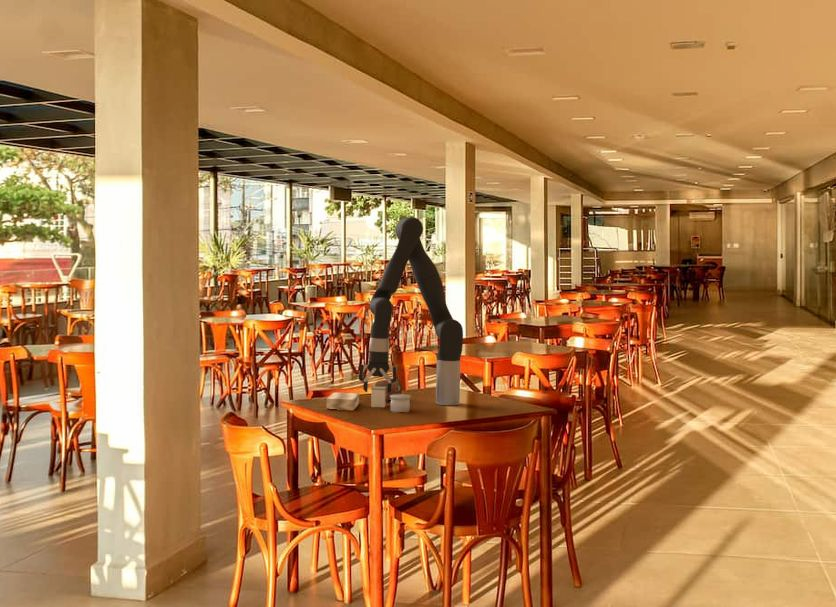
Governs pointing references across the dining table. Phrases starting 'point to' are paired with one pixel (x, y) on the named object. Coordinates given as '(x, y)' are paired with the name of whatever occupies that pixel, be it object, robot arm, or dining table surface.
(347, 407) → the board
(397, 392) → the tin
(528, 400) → the dining table surface
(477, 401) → the dining table surface
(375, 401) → the green and cream block
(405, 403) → the sugar bowl
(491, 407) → the dining table surface
